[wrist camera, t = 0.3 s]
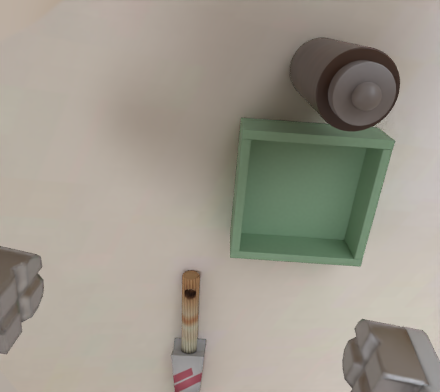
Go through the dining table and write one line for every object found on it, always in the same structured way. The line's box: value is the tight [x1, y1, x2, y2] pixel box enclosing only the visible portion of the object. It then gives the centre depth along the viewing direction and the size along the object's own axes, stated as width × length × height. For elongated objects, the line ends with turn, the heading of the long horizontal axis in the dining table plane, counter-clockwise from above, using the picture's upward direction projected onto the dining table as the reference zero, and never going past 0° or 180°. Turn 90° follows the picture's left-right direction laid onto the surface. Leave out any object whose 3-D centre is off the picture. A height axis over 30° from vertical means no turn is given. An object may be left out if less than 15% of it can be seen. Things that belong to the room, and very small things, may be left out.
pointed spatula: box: [171, 270, 206, 392], centre depth 45 cm, size 4×3×20 cm
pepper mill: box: [290, 38, 400, 132], centre depth 27 cm, size 5×5×13 cm
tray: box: [230, 118, 395, 266], centre depth 36 cm, size 13×13×4 cm
